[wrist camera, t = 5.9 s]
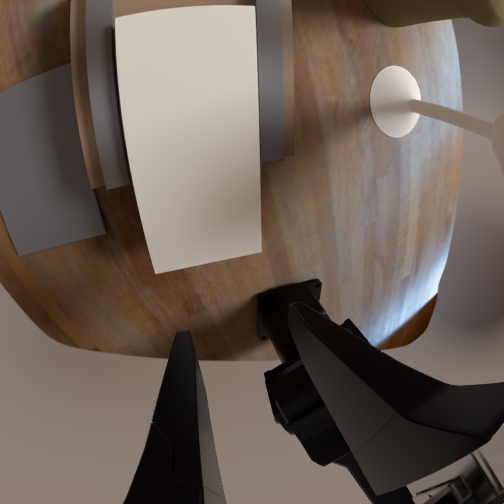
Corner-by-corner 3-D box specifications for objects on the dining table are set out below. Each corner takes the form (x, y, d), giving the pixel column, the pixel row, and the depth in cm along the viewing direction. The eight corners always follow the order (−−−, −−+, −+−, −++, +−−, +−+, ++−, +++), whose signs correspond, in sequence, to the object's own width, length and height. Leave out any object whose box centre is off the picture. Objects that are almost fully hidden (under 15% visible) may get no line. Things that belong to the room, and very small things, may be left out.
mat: (106, 231, 18) (105, 234, 18) (20, 254, 16) (18, 256, 16) (74, 61, 11) (72, 61, 11) (-22, 106, 9) (-24, 106, 9)
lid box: (268, 141, 18) (300, 158, 14) (104, 168, 16) (88, 194, 12) (262, -30, 11) (294, -57, 7) (89, -14, 8) (70, -41, 4)
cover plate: (253, 238, 17) (261, 252, 16) (154, 258, 16) (155, 274, 15) (245, 13, 10) (254, 6, 9) (119, 25, 8) (115, 17, 7)
